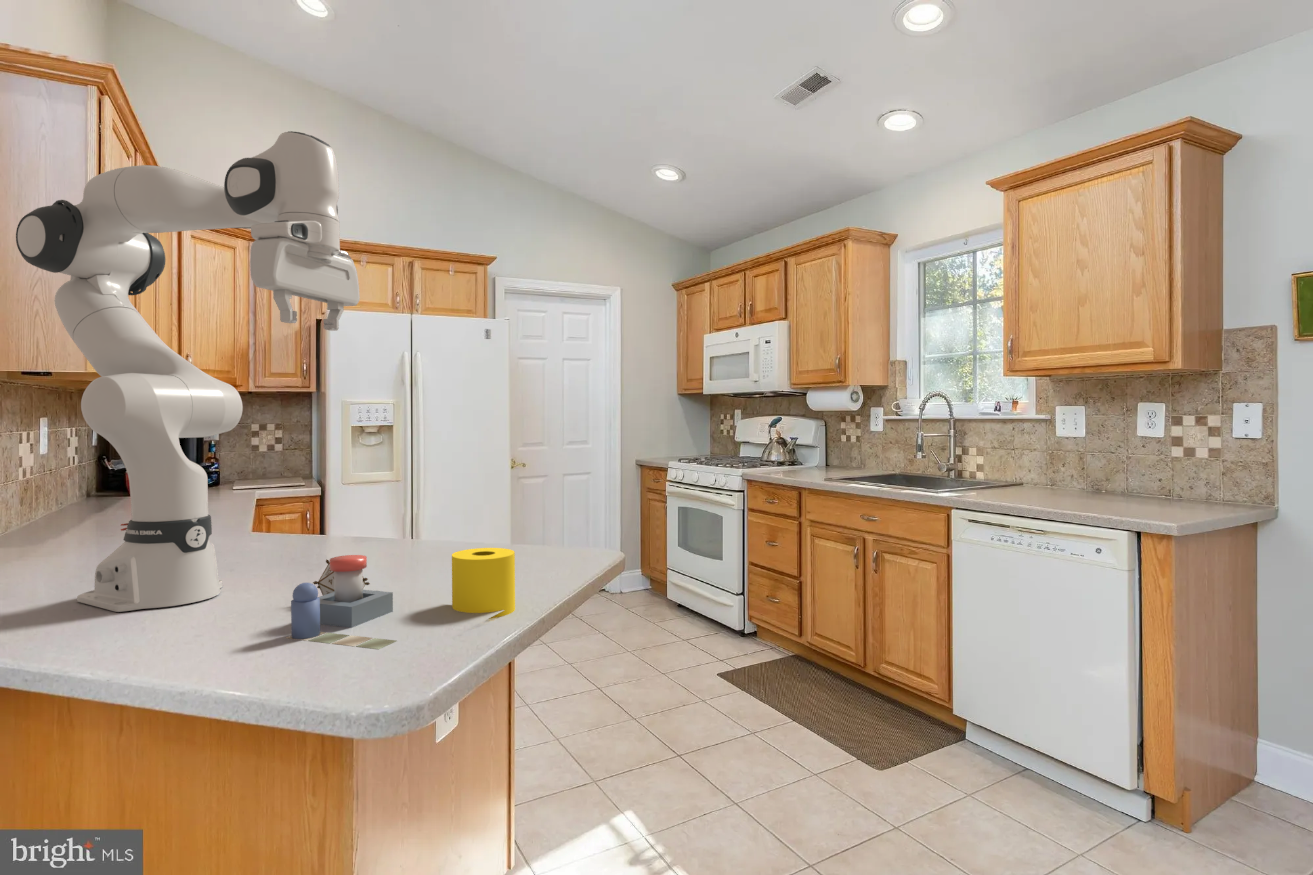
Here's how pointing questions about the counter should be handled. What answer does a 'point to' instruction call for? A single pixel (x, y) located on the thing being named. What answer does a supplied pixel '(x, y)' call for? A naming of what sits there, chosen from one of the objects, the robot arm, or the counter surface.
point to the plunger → (348, 577)
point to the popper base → (355, 609)
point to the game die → (330, 581)
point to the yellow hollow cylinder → (484, 581)
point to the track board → (350, 640)
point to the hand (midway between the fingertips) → (310, 326)
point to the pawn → (305, 612)
